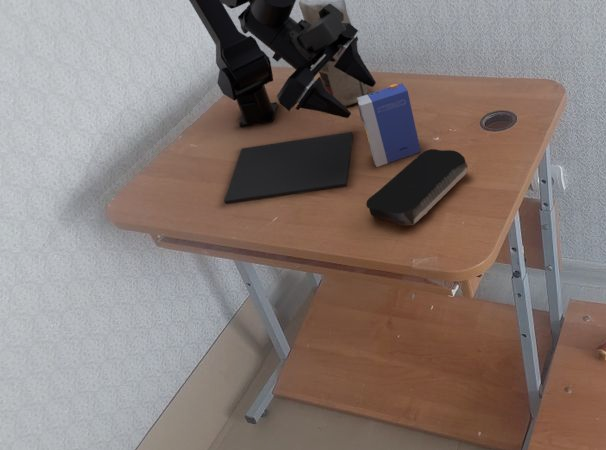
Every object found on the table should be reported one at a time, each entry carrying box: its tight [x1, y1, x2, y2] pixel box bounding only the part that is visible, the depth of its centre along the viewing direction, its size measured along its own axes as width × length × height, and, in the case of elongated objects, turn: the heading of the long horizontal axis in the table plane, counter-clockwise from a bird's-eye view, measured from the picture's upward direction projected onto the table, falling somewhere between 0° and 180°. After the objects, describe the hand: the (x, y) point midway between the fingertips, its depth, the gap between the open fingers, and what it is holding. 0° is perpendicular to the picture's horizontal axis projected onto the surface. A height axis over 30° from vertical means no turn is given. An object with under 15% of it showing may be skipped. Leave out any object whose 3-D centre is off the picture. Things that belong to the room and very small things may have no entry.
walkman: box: [357, 82, 422, 168], centre depth 112 cm, size 8×3×12 cm, turn 110°
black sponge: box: [365, 148, 468, 226], centre depth 105 cm, size 16×8×4 cm, turn 143°
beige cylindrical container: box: [298, 0, 369, 107], centre depth 127 cm, size 8×8×20 cm
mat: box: [223, 131, 354, 205], centre depth 118 cm, size 15×20×1 cm
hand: (362, 100), depth 110 cm, fingers open, 9 cm apart
